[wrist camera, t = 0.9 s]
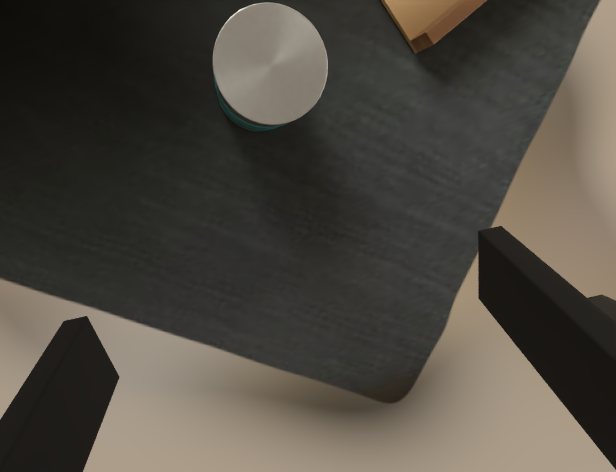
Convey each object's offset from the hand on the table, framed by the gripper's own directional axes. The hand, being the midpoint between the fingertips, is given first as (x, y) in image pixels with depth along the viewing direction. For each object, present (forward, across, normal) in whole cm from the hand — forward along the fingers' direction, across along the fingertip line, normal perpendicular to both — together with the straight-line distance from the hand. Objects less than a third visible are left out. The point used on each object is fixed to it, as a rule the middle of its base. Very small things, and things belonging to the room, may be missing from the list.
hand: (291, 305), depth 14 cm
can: (+26, 0, +3) cm, 26 cm away
